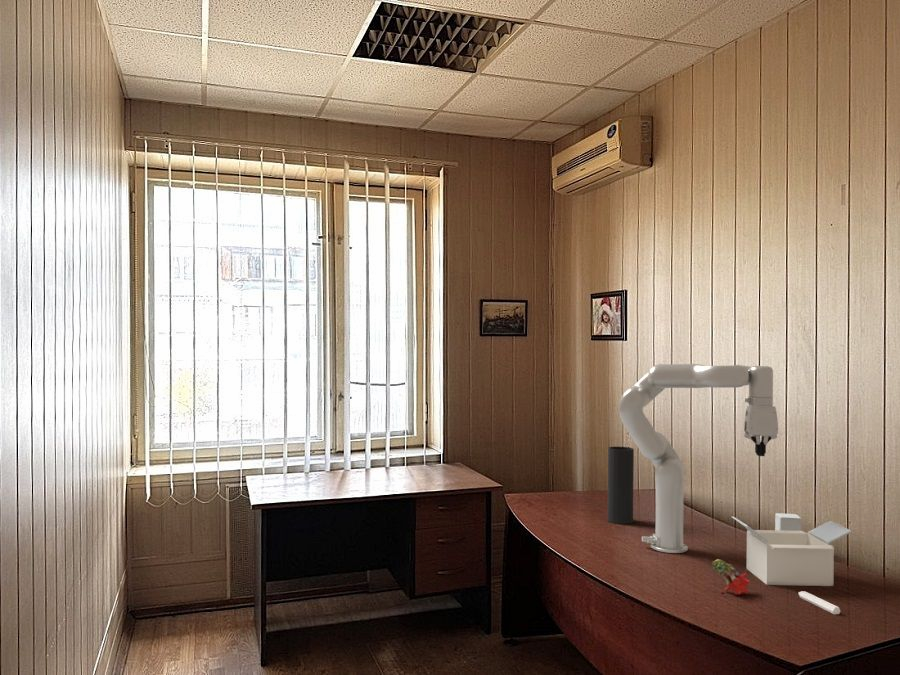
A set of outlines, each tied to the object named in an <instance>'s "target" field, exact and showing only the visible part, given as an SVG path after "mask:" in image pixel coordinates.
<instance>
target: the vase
mask: <svg viewBox="0 0 900 675" xmlns="http://www.w3.org/2000/svg"><path fill="white" fill-rule="evenodd" d="M634 456H635V454H634V448H633V447H629V446H609V447H608V448H607V516H606V517H607V520H606V521H607V522H609V523H611V524H616V525H629V524H633V523H634V471H635V470H634V466H635V465H634V462H635V461H634V458H635V457H634Z"/></svg>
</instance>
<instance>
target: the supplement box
mask: <svg viewBox="0 0 900 675" xmlns="http://www.w3.org/2000/svg"><path fill="white" fill-rule="evenodd" d="M774 516H775V517H774V519H775V520H774V524H775V525H774V526H775V527H774V530H785V531H803V530H802V529H803V518H802V517H800V516H799V515H798V514H797V513H796V514H795V513H781V512H780V513H779V512H778V513H777V512H775V515H774Z"/></svg>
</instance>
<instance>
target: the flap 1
mask: <svg viewBox="0 0 900 675" xmlns="http://www.w3.org/2000/svg"><path fill="white" fill-rule="evenodd" d="M731 518H732V519H733V520H735V521H736V522H738V524H740V525H741V526H743V527H744V528H745V529H747V530H749V531H750V532H752V533H753V534H755V535H756V536H758V537H760V538H761V539H763V540H764V541H766V542H767V543H768V542H769V541H767V540H766V539H765V538H763V537H762V536H761V535H759V534H758V533H757V532H755V531H754V530H755V529H753V528H752V527H750V526H749V525H747V524H746V523H744V522H743V521H741V520H740V519H739V518H737V517H736V516H733V515H732V516H731Z"/></svg>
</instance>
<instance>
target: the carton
mask: <svg viewBox="0 0 900 675" xmlns="http://www.w3.org/2000/svg"><path fill="white" fill-rule="evenodd" d="M753 530H754V531H755V532H757V533H758V534H759V535H761V536H762V537H763V538H765V539H766V540H767V541H769V542H768V543H767V542H766V541H764V540H763V539H761V538H760V537H758V536H756V535H755V534H753V533H752V532H750V531H749V530H748V529H747V530H746V570H747V571H749V572H750V573H752V574H753V576H755V577H756V578H757V579H759V580H760V581H761V582H762V583H764V584H765V585H766V586H812V587H814V586H815V587H819V586H820V587H834V574H835V573H834V567H835V566H834V565H835V564H834V560H835V558H834V556H835V554H834V551H835V550H836V549H835V548H834V547H835V546H834V545H831V543H829V544H828V543H826V542H824V541H822V540H820V539H819V538H817V537H815V536H813V535H811V534H809V533H808V532H805V531H804V530H802V531H785V530H775V529H774V530H773V529H771V530H770V529H768V530H767V529H753Z"/></svg>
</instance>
